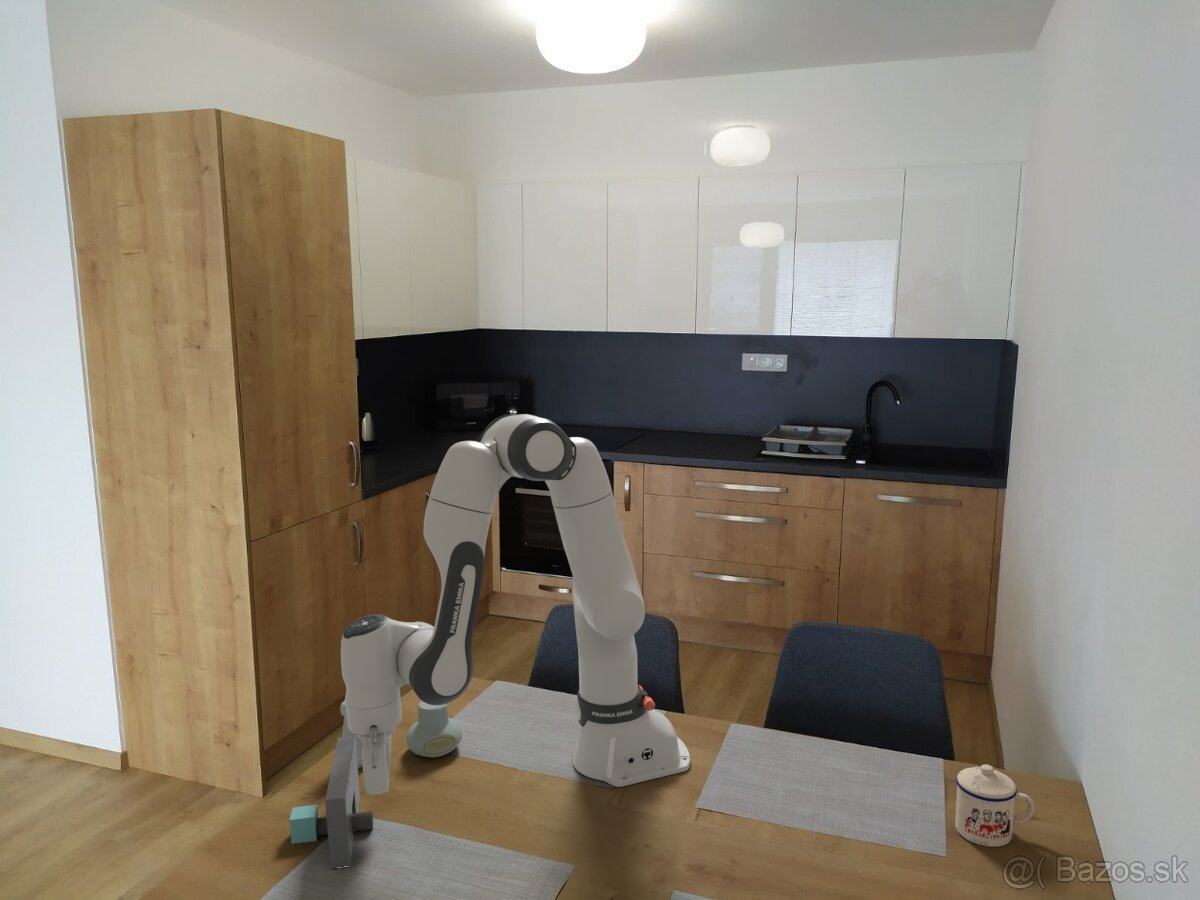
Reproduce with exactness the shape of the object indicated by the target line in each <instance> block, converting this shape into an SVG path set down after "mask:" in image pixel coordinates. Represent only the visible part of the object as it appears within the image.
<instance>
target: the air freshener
mask: <svg viewBox="0 0 1200 900" xmlns="http://www.w3.org/2000/svg"><path fill="white" fill-rule="evenodd" d="M448 705H449V703H447V704H443V705H430V704H427V703H425V702H423V701H422V700H420V701H419V702H418V704H417V721H416V722H414V723H413V724H412V725H411V726H410V728H409V729H408V731H407V733H406V736H405V741H406V745H407V747H408V749H410V751H411V752H413V754H415V755H418V756H419V757H425V758H431V759H432V758H433V759H435V758H436V757H437V758H440V757H441V758H442V757H443V756H445V755H447V754H449V753H451V752H452V751H454V750H455V749H456V748H458V746H459V745H460V743H461V741H462V740H463V739H462V738H463V728H462V727H461V725H460V724H459V723H458V721H456V720H455V719H453V718H452V717H449V706H448Z"/></svg>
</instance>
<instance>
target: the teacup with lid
mask: <svg viewBox="0 0 1200 900" xmlns="http://www.w3.org/2000/svg"><path fill="white" fill-rule="evenodd" d="M955 782H956V785H957V789H956V806H955V822H954V825H955V829H956V830H957V832H958V834H960V836H962V837H963V839H966V840H967V841H969V842H970V843H974V844H976V845H979V846H983V847H990V848H991V847H992V848H995V847H996V848H998V847H1002V846H1005V845H1007V844H1009V843H1010V842H1011V840H1012V839H1013V829H1014V827H1013V826H1014V824H1017V823H1018V824H1019V823H1020V824H1021V823H1024V822H1026V821H1028V820H1029V819H1030V818H1032V816H1033V814H1034V810H1035V804H1034V803H1035V802H1034V801H1033V799H1032V798H1031V797H1030V796H1029V795H1027V794H1025V793H1023V792H1018V789H1017V786H1016V783H1015V782H1014V780H1013V779H1011V777H1009V776H1008V775H1006V774H1005V773H1003V772H1001V771H998V770H995V769H994V767H993V766H992V765H990V764H982V765H981V766H973V767H967V768H964V769H962V770H960V771H959V773H958V774H957V776H956V778H955ZM1015 800H1023V801H1026V802H1027V803H1028V806H1027V809H1026V810H1025V812H1023V813H1022V814H1019V815H1015V814H1014V813H1015Z"/></svg>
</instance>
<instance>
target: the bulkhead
mask: <svg viewBox="0 0 1200 900" xmlns="http://www.w3.org/2000/svg"><path fill="white" fill-rule="evenodd" d="M359 780H360V779H359V768H358V765H357V752H356V738H355V736H347V737H342V736H338V737H337V741H336V744H335V751H334V755H333V760H332V765H331V770H330V775H329V780H328V785H327V789H326V794H325V801H324V803H325V813H326V814H325V815H326V816H325V817H327V828H328V835H327V839H328V851H329V862H330V864H329V865H330V869H331V868H337V867H344V866H350V865H351V866H352V860H351V857H353V852H352V850H353V851H354V845H353V843H355V833H354V832H355V831H354V829H353V816H352V814H353V813H359V806H360V805H359V804H360V798H361V796H360V793H361V792H360V781H359Z"/></svg>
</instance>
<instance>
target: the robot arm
mask: <svg viewBox="0 0 1200 900" xmlns="http://www.w3.org/2000/svg"><path fill="white" fill-rule="evenodd" d="M511 477H514V478H518V479H519V478H520V479H525V480H529V481H534V482H535V481H536V482H543V481H544V482H545V484H546V486H547V488H548V489H549V495H550V499H551V503H552V507H553V511H554V515H555V519H556V522H557V527H558V531H559V534H560V538H561V542H562V546H563V550H564V552H565V555H566V558H567V561H568V565H569V567H570V571H571V574H572V579H571V582H572V583H571V584H572V599H573V614H574V624H575V625H574V627H575V633H576V642H577V649H578V650H577V651H578V653H577V654H578V675H579V676H578V677H579V678H578V679H579V681H578V684H579V685H578V686H579V689H578V691H577V695H576V696H577V698H576V699H577V700H576V713H577V714H576V717H577V720H578V721H577V722H578V732H577V740H576V746H575V750H574V755H573V757H572V765H573V767H574V768H575V770H576V771H577V772H579V773H580V774H581V775H584V776H585V777H588V778H590V779H594V780H598V781H603V782H605V783H608V784H609V785H611V786H613V787H617V788H622V787H626V786H630V785H634V784H638V783H642V782H646V781H651V780H654V779H658V778H663V777H666V776H670V775H671V776H672V775H675V774H678V773H679V774H680V773H683V772H686V771H688V770H689V768H690V767H691V755H690V751H689V750H688V748H687V745H686V744H685V743H684V742H683V741H682V739H681V738H680V737H678V736H677V732H676V731H675V728H674V726H673V724H672V723H671V721H670V720H669V719H668V718H667V717H666V716H665V715H664V714H662V713H661V712H659V711H657V710H655V708H656V704H655V702H654V700H653V698H652V697H650V696H649V695H648V693H647V691H646V690H645V689H643V687H642V686H641V684H638V651H637V645H636V641H635V634H636V633H637V632H638V631H639V630H640V629H641V627H642V625H643V624H644V620H645V616H646V610H645V609H646V608H645V602H644V597H643V594H642V590H641V586H640V584H639V579H638V577H637V573H636V569H635V567H634V564H633V560H632V557H631V554H630V551H629V548H628V546H627V543H626V540H625V537H624V534H623V530H622V526H621V522H620V518H619V515H618V514H619V513H618V511H617V506H616V502H615V498H614V493H613V490H612V486H611V482H610V479H609V475H608V473H607V470H606V467H605V464H604V462H603V460H602V457H601V455H600V453H599V451H598V448H597V446H596V445H595V444H594V443H593V442H592V441H591V440H590V439H588V438H585V437H580V436H576V437H575V436H571V437H569V436H568V435H567V434H566V433H565V431H564V430H563V429H562V428H561V426H559V425H557V423H555V422H553V421H552V420H551V419H548V418H544V417H540V416H536V415H533V414H528V413H524V414H522V413H521V414H515V413H510V414H504V415H501V416H499V417H497V418H495V419H494V420H492V421H491V422H490V423H489V424H488V425H487V426H486V427H485V429H484V430H483V431H482V432H481V434H480V435H479V436H477V437H476V439H474V440H464V441H459V442H458V441H457V442H455V443H454V444H453V445H451V446H450V447H449V448H448V450H447V452H446V454H445V455H444V457H443V460H442V461H441V463H440V466H439V468H438V470H437V473H436V476H435V478H434V480H433V484H432V487H431V490H430V493H429V498H428V500H427V504H426V507H425V512H424V518H423V539H424V540H425V542H426V543H425V544H426V545H427V547H428V549H429V550H430V552H431V554H432V556H433V557H434V560H435V562H436V565H437V567H438V570H439V574H440V579H441V580H440V581H441V587H440V589H441V590H440V596H439V601H438V606H437V611H436V615H435V616H436V617H435V621H434V626H433V625H432V624H430V623H427V622H425V621H412V622H408V621H407V622H406V621H399V620H395V619H392V618H390V617H388V616H386V615H384V614H377V613H376V614H368V615H365V616H361V617H359V618H357V619H355V620H354V621H352V622H351V623H350V624H348V625H347V626H346V627H345V629H344V630H343V633H342V635H341V641H340V662H341V663H340V664H341V675H342V680H343V682H344V684H345V690H346V691H345V697H344V701H345V704H346V713H347V722H348V729H349V730H350V731H351V732H352V733H354V734H357V737H358V738H359V739H361V740H363V748H362V763H363V767H362V772H363V784H364V786H363V787H364V791H365V794H366V796H375V795H381V794H382V795H383V794H386V793H388V792H389V789H390V773H391V772H390V771H391V755H392V754H391V753H392V737H393V734H394V733H395V731H396V729H397V728H396V727H398V726H399V725H400V724H401V723H402V720H403V711H402V710H403V709H402V701H401V699H402V698H401V688H402V687H403V686H406V685H409V686H410V688H411V689H412V690H413V692H414V693H415V695H416V697H418V699H419V700H420V701H423V702H425V703H427V704H430V705H443V704H447V703H448V704H449V703H452V702H454V701H455V700H456V699H458V698H459V697H460V696H462V694H464V693H465V691H466V690H467V688H468V687H469V685H470V683H471V681H472V678H473V675H474V659H473V649H472V647H473V646H472V645H473V644H472V643H473V636H474V629H475V625H476V620H477V614H478V613H477V612H478V607H479V602H480V597H481V592H482V587H483V586H482V584H483V581H484V580H483V578H484V573H485V571H484V569H485V555H486V554H485V553H486V544H487V540H488V539H487V538H488V533H489V528H490V525H491V520H492V518H493V517H492V516H493V513H494V508H495V505H496V500H497V495H498V494H499V492H500V490H501V489H502V486H503V485H505V483H506V482H507V480H509V479H510V478H511Z"/></svg>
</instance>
